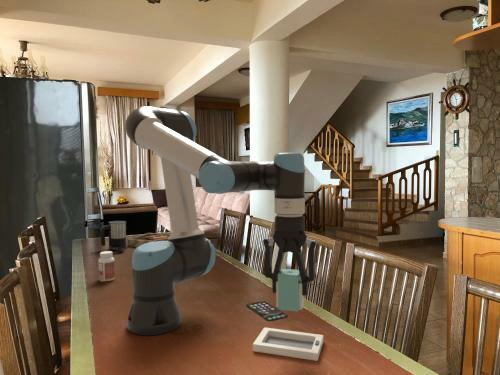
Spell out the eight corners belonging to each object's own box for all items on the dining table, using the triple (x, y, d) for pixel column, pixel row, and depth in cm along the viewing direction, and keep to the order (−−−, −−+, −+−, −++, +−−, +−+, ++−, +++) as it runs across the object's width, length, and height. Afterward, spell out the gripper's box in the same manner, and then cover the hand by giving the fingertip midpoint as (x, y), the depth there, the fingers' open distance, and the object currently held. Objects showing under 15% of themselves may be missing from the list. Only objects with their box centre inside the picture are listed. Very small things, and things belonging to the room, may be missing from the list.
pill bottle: (117, 277, 161) (116, 250, 161) (112, 281, 155) (111, 253, 155) (101, 277, 161) (101, 250, 161) (96, 281, 155) (95, 254, 154)
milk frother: (120, 246, 222) (119, 220, 221) (138, 249, 213) (137, 222, 212) (97, 250, 211) (96, 223, 210) (115, 254, 201) (114, 226, 200)
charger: (278, 309, 98) (277, 273, 97) (282, 302, 103) (282, 268, 102) (298, 311, 96) (297, 275, 96) (301, 304, 101) (301, 269, 101)
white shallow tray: (252, 351, 98) (252, 342, 98) (264, 333, 108) (264, 326, 108) (317, 360, 93) (317, 352, 93) (323, 341, 103) (323, 334, 103)
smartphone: (268, 321, 116) (244, 304, 129) (268, 323, 116) (244, 306, 129) (289, 316, 120) (264, 300, 133) (289, 318, 120) (264, 302, 133)
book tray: (127, 246, 221) (127, 239, 221) (148, 239, 241) (148, 232, 241) (164, 249, 214) (164, 241, 213) (183, 241, 234) (183, 235, 234)
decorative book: (154, 248, 217) (154, 239, 217) (142, 243, 230) (142, 235, 229) (173, 245, 224) (173, 237, 223) (161, 241, 237) (160, 233, 236)
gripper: (250, 215, 97) (251, 307, 99) (324, 217, 92) (324, 315, 93) (259, 212, 105) (260, 298, 106) (328, 214, 99) (328, 304, 100)
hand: (290, 306), depth 100 cm, fingers closed on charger, 5 cm apart
